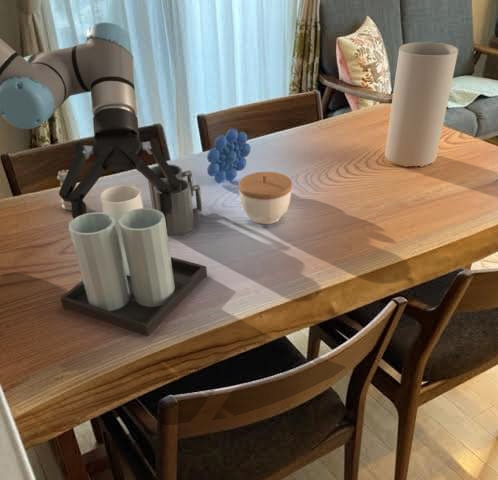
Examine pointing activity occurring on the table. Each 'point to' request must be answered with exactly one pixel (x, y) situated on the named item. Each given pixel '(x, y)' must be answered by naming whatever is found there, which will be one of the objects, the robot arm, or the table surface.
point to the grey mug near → (181, 208)
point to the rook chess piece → (61, 177)
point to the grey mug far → (159, 173)
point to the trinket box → (265, 196)
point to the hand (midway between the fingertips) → (125, 236)
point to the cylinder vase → (419, 102)
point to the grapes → (228, 156)
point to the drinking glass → (121, 207)
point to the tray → (132, 312)
